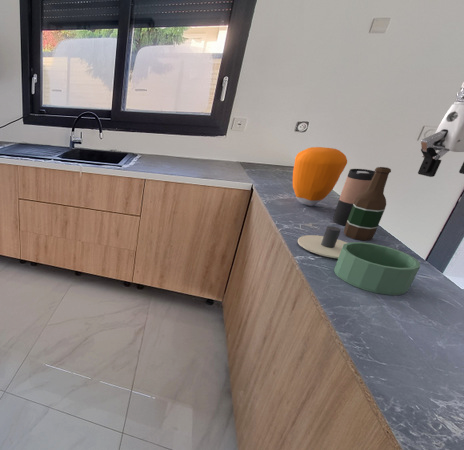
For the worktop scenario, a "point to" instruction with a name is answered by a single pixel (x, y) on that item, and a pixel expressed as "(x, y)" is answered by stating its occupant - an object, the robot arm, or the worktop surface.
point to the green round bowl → (376, 268)
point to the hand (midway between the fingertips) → (446, 174)
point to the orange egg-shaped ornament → (316, 173)
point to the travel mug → (351, 193)
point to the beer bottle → (368, 208)
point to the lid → (323, 243)
